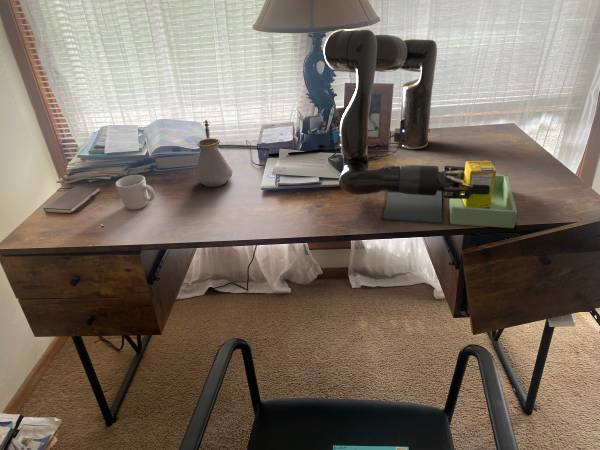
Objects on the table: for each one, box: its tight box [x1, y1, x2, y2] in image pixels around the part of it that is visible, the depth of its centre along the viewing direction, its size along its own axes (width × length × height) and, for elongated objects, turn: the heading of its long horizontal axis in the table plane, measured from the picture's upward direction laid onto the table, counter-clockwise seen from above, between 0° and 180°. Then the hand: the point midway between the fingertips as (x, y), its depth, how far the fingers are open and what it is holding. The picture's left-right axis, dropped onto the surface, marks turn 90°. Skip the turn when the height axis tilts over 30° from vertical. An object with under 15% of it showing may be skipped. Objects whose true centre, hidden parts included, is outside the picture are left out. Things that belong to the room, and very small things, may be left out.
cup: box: [114, 174, 156, 211], centre depth 123 cm, size 11×8×8 cm
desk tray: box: [449, 173, 518, 229], centre depth 110 cm, size 14×20×4 cm
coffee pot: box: [194, 119, 234, 188], centre depth 136 cm, size 21×12×15 cm, turn 11°
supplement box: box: [461, 160, 497, 209], centre depth 108 cm, size 6×6×11 cm
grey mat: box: [382, 191, 443, 224], centre depth 115 cm, size 14×20×1 cm
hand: (487, 183), depth 108 cm, fingers closed on supplement box, 6 cm apart
